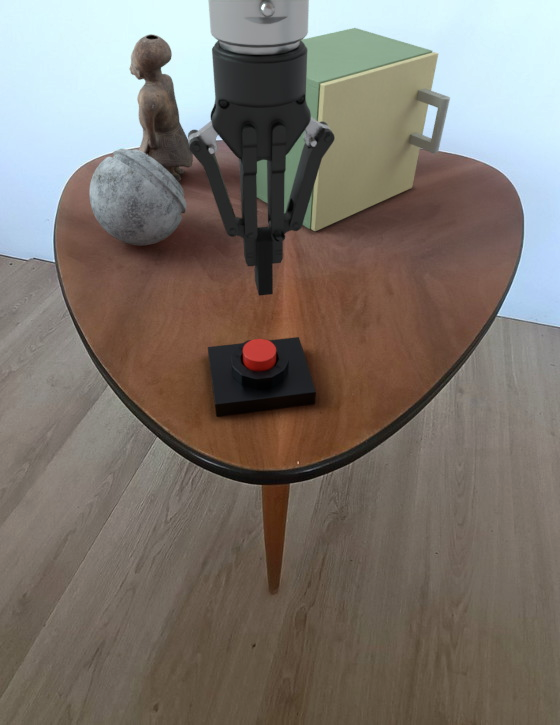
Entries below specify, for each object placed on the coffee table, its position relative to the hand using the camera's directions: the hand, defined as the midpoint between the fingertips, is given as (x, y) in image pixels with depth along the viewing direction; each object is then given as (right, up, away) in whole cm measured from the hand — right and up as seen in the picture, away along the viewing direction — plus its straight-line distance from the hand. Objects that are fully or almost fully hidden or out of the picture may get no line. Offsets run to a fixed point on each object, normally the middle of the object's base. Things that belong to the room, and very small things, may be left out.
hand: (263, 287), depth 59 cm
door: (+19, +19, +41) cm, 49 cm away
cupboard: (+11, +26, +48) cm, 55 cm away
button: (-1, -8, +8) cm, 11 cm away
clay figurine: (-20, +28, +50) cm, 61 cm away
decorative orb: (-21, +13, +34) cm, 42 cm away
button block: (-1, -10, +10) cm, 15 cm away
